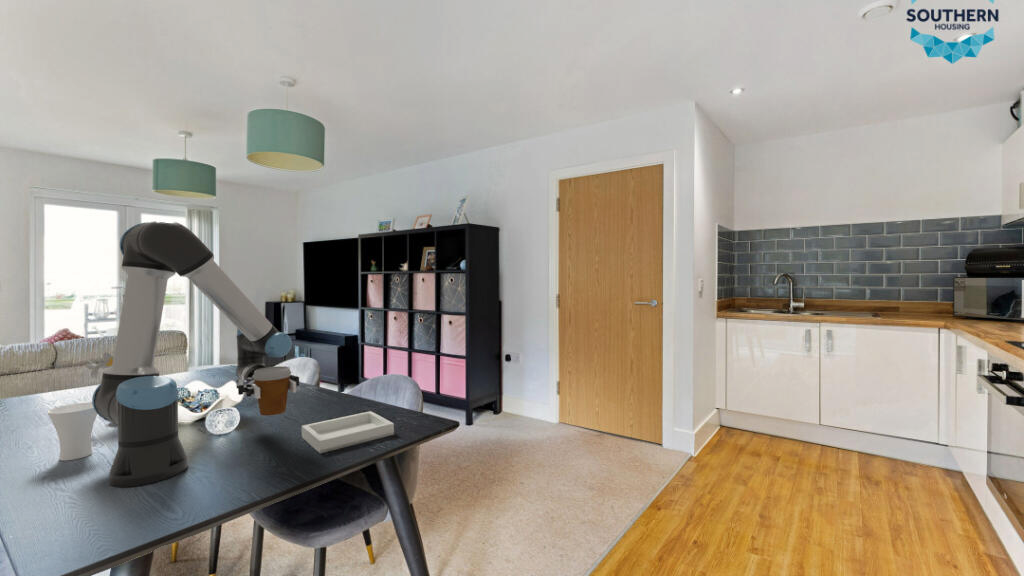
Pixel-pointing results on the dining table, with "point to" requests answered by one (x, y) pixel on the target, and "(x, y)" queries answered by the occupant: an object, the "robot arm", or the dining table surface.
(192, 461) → the dining table surface
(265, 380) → the disposable coffee cup
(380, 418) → the tray
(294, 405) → the dining table surface
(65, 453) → the cup
